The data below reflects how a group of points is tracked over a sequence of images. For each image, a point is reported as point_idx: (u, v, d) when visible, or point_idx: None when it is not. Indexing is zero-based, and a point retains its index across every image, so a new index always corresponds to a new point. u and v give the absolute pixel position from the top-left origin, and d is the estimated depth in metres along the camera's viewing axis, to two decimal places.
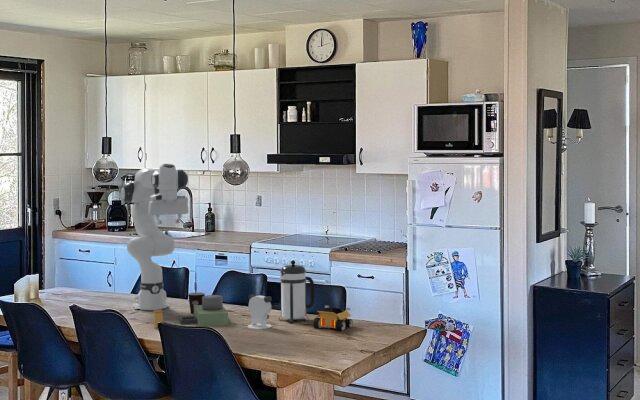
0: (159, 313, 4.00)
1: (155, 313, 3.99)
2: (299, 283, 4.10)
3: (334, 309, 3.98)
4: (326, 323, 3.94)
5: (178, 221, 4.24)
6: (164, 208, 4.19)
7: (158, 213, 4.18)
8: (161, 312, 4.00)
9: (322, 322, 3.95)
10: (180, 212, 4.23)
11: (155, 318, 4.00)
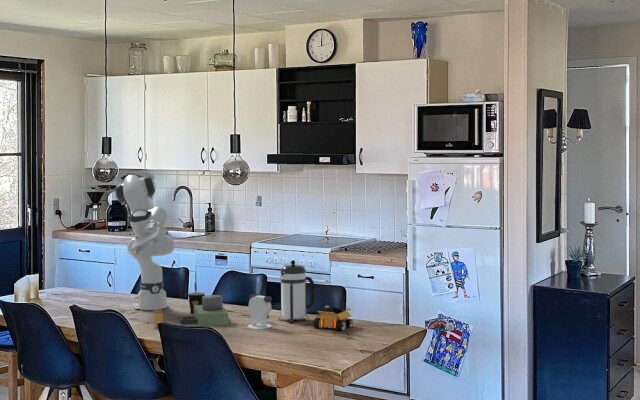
0: (159, 313, 4.00)
1: (155, 313, 3.99)
2: (298, 283, 4.10)
3: (334, 309, 3.98)
4: (326, 323, 3.94)
5: None
6: None
7: None
8: (161, 312, 4.00)
9: (322, 322, 3.94)
10: None
11: (155, 318, 4.00)
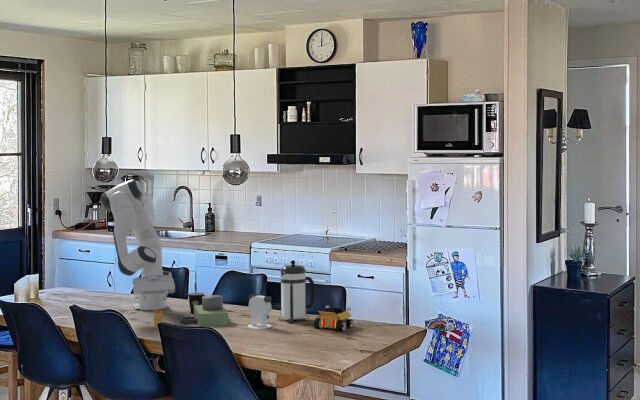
0: (159, 313, 4.00)
1: (155, 313, 3.99)
2: (299, 283, 4.10)
3: (335, 309, 3.98)
4: (327, 323, 3.93)
5: None
6: None
7: None
8: (161, 312, 4.00)
9: (323, 322, 3.94)
10: None
11: (155, 318, 4.00)
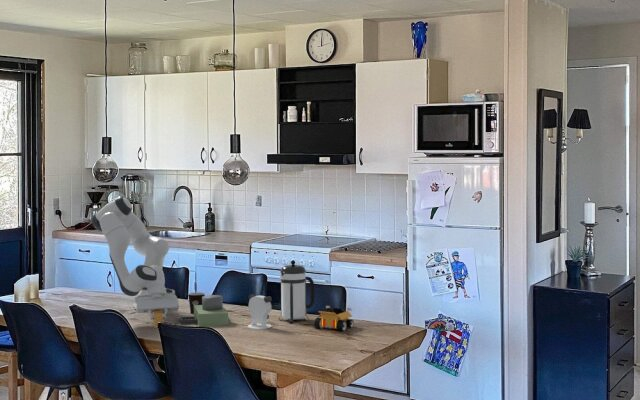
0: (159, 313, 4.00)
1: (155, 313, 3.99)
2: (299, 283, 4.10)
3: (335, 309, 3.98)
4: (327, 323, 3.93)
5: None
6: None
7: None
8: (161, 312, 4.00)
9: (323, 322, 3.94)
10: None
11: (155, 318, 4.00)
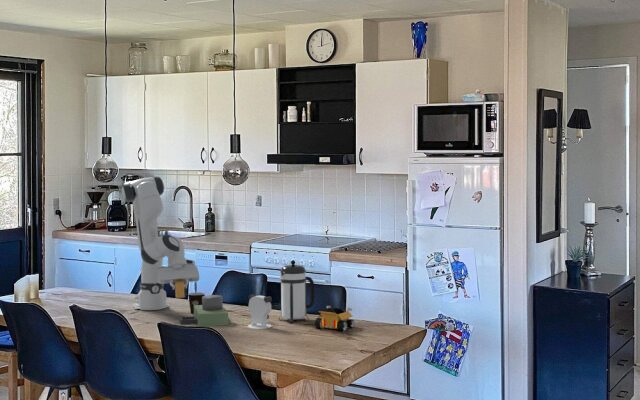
0: (180, 283, 4.07)
1: (177, 283, 4.07)
2: (299, 283, 4.10)
3: (335, 309, 3.98)
4: (327, 323, 3.93)
5: None
6: None
7: None
8: (182, 282, 4.07)
9: (323, 322, 3.94)
10: None
11: (177, 288, 4.07)
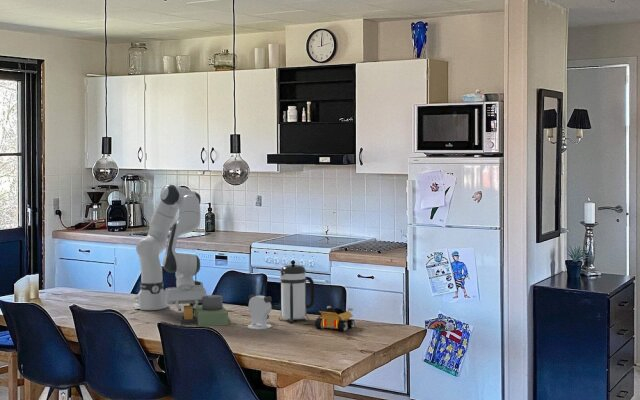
0: (189, 308, 4.11)
1: (185, 308, 4.11)
2: (299, 283, 4.10)
3: (336, 309, 3.97)
4: (328, 323, 3.93)
5: None
6: None
7: None
8: (191, 307, 4.11)
9: (324, 322, 3.94)
10: None
11: (185, 313, 4.11)
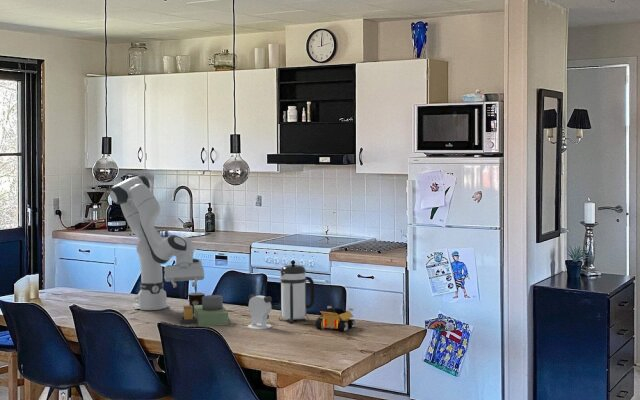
0: (189, 308, 4.11)
1: (185, 308, 4.11)
2: (299, 283, 4.10)
3: (336, 310, 3.97)
4: (328, 324, 3.93)
5: None
6: None
7: None
8: (191, 307, 4.11)
9: (324, 323, 3.93)
10: None
11: (185, 313, 4.11)
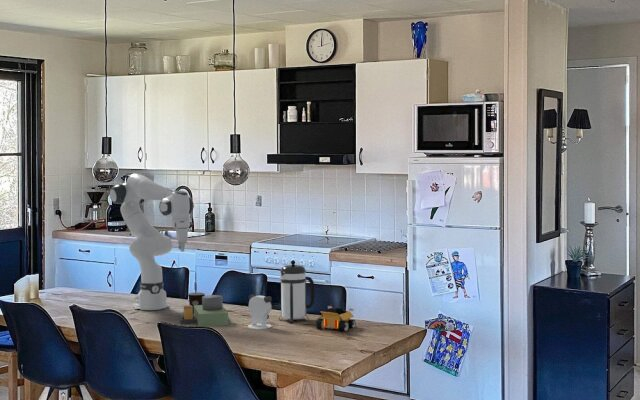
0: (189, 308, 4.11)
1: (185, 308, 4.11)
2: (299, 283, 4.10)
3: (337, 310, 3.97)
4: (329, 324, 3.92)
5: None
6: None
7: None
8: (191, 307, 4.11)
9: (325, 323, 3.93)
10: None
11: (185, 313, 4.11)
